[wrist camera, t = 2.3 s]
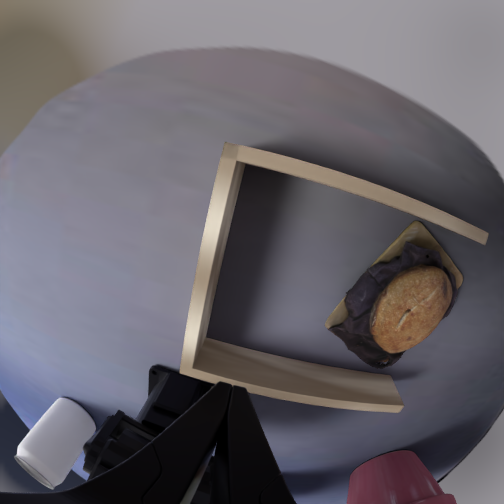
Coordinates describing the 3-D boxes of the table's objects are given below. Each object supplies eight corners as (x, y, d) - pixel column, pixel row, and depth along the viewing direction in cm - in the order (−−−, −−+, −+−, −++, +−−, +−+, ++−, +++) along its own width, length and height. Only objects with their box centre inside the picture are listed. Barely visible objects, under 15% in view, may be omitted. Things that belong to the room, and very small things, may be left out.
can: (96, 413, 26) (51, 481, 15) (98, 437, 28) (61, 497, 16) (55, 387, 26) (5, 445, 14) (60, 414, 28) (19, 467, 16)
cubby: (386, 382, 21) (399, 412, 17) (194, 342, 21) (179, 372, 17) (457, 222, 17) (488, 233, 13) (236, 149, 17) (224, 141, 13)
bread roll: (410, 210, 18) (435, 218, 14) (464, 280, 19) (488, 297, 15) (312, 317, 20) (317, 344, 17) (378, 369, 21) (389, 397, 18)
